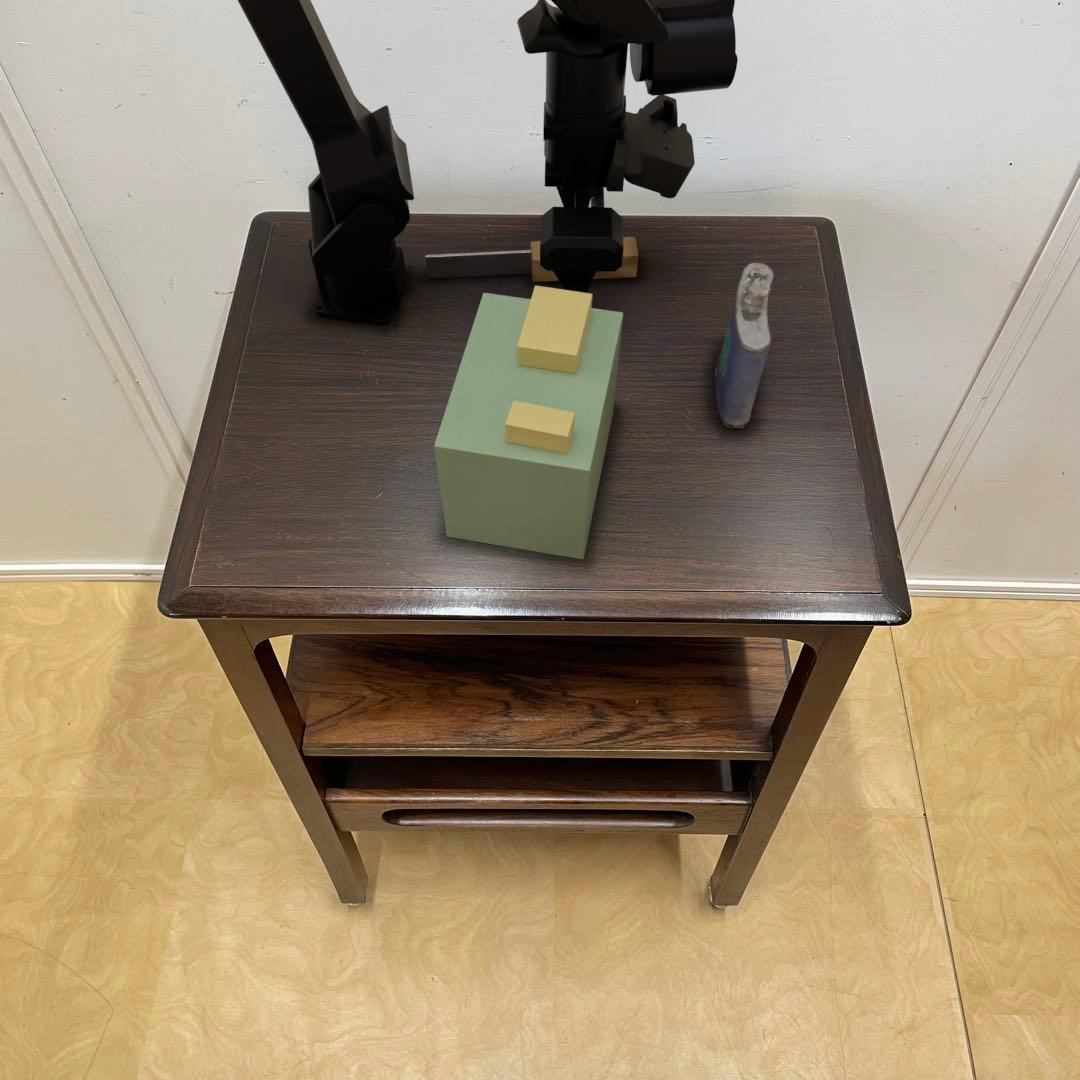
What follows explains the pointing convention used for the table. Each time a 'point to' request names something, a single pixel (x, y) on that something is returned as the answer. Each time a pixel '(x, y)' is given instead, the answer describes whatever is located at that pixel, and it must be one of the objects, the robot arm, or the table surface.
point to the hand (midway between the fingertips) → (577, 261)
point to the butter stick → (554, 329)
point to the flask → (744, 346)
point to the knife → (516, 264)
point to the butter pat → (540, 427)
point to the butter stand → (515, 470)
